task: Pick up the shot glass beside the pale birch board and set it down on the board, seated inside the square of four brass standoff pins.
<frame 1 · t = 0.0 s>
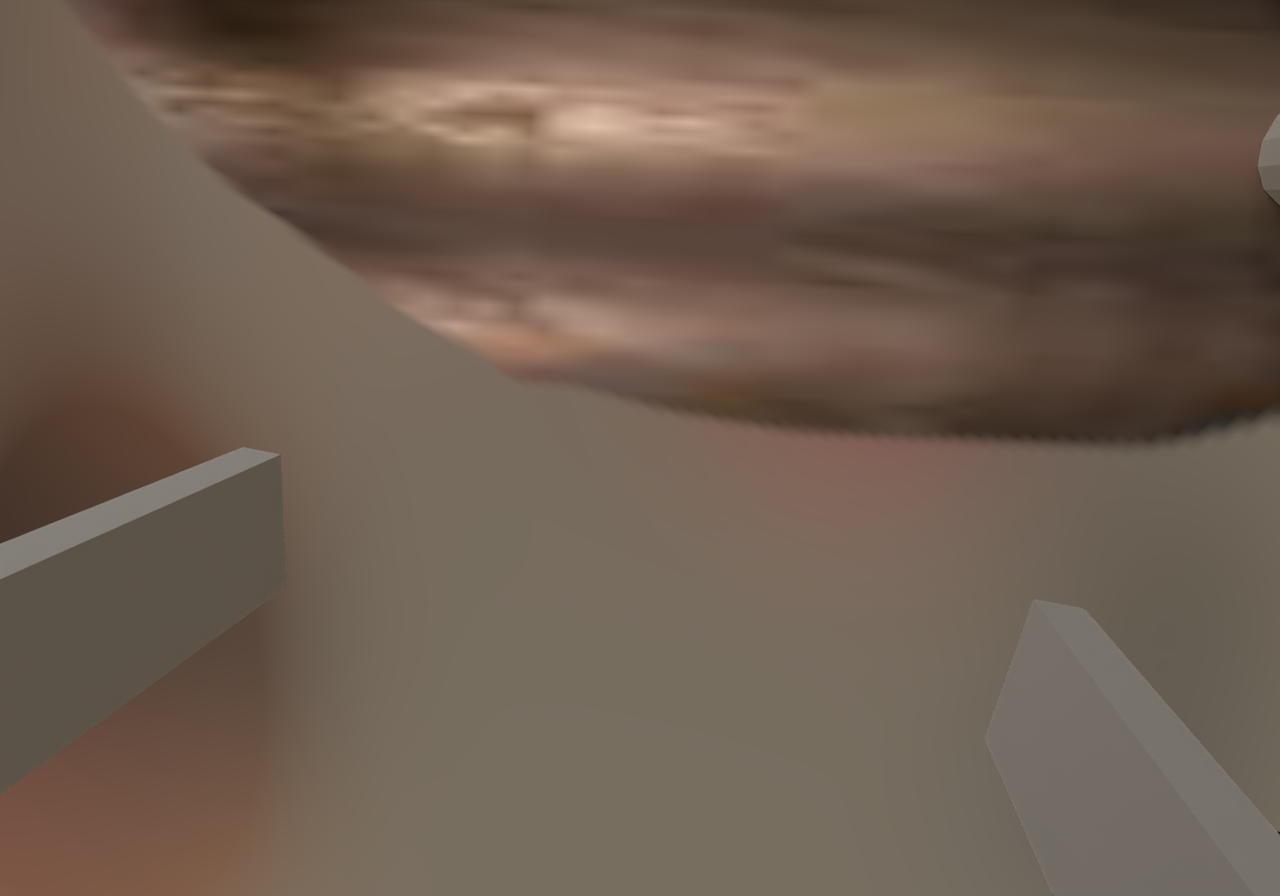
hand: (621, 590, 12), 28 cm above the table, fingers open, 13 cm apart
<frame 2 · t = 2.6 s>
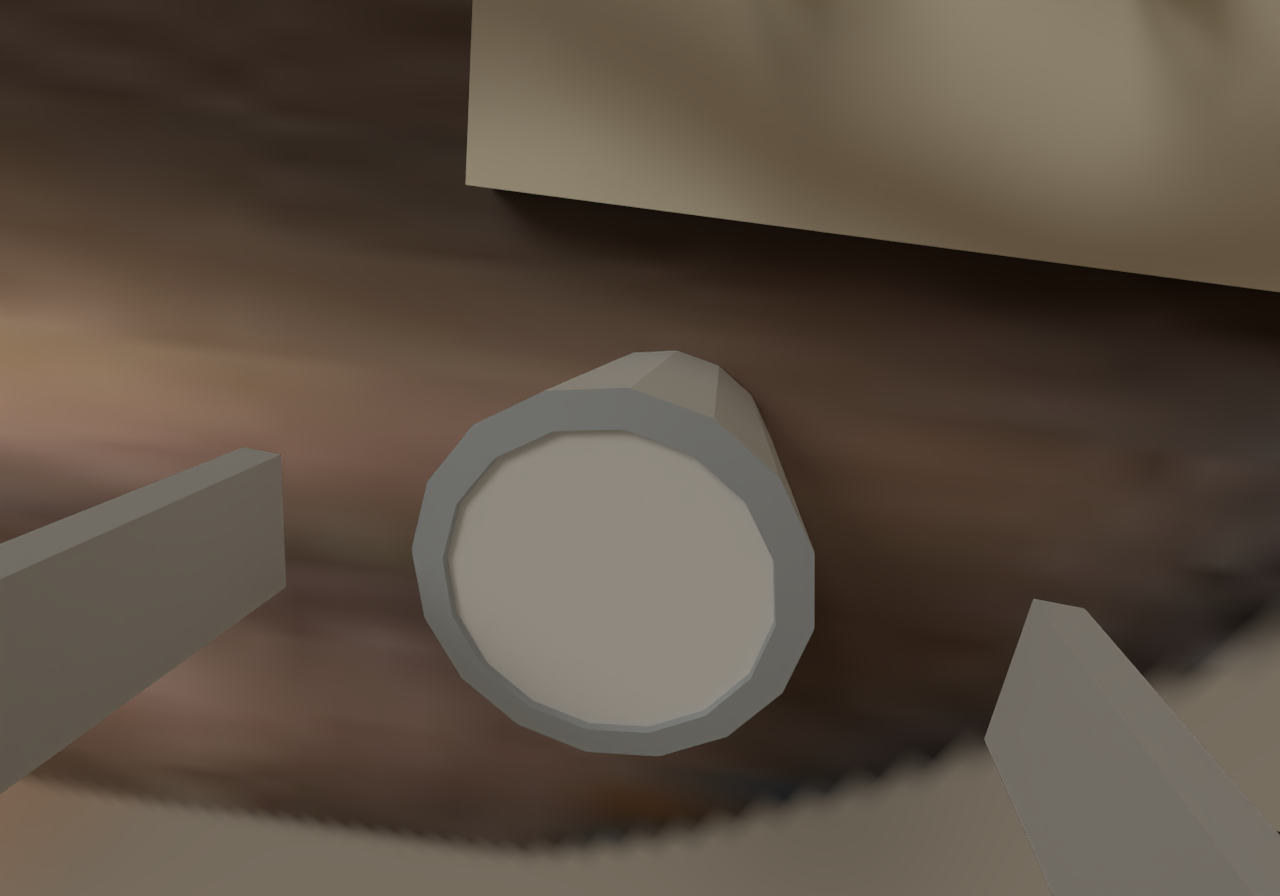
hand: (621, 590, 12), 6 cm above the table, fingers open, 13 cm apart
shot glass: (663, 454, 18), on the table
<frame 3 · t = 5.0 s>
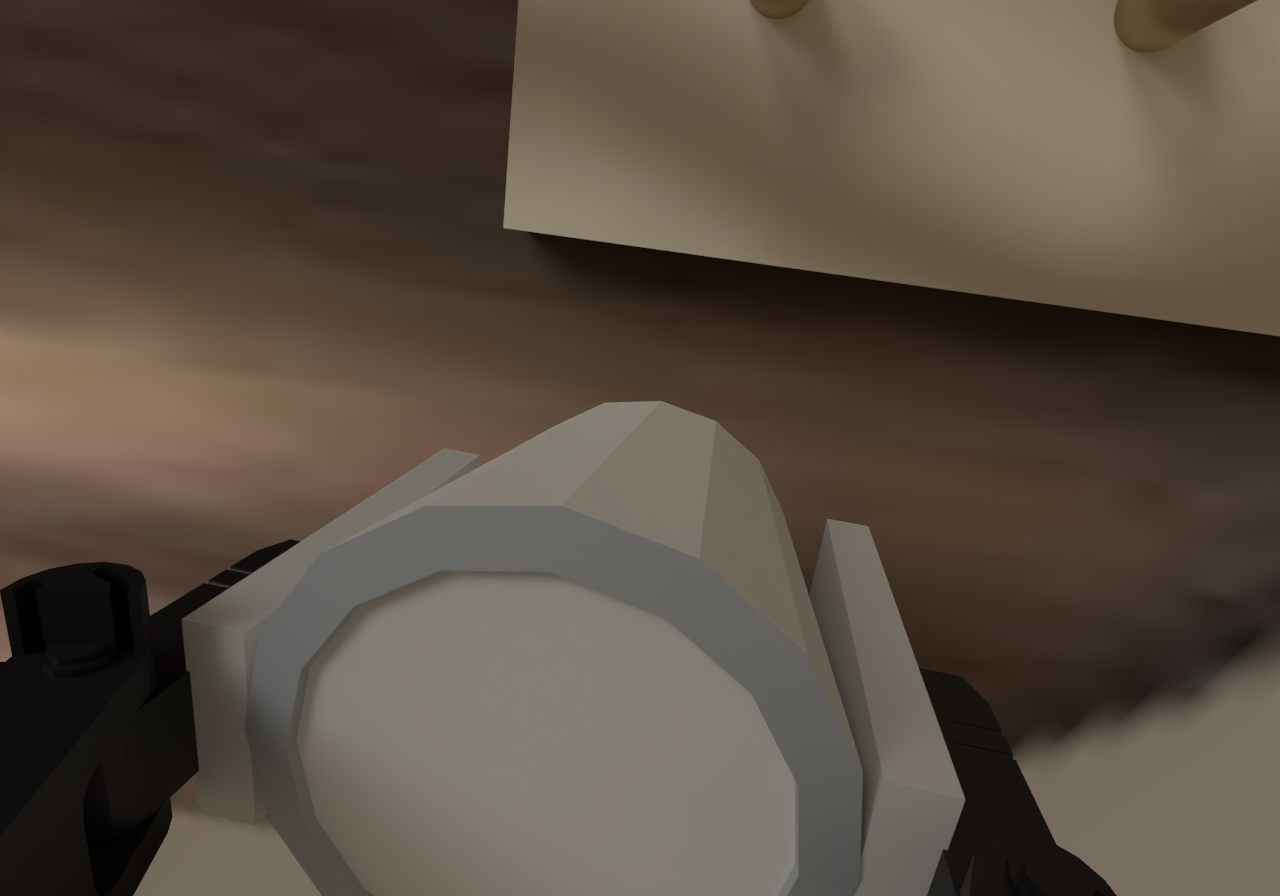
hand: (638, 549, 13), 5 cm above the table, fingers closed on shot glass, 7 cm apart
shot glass: (644, 531, 14), point 5 cm above the table, touching gripper
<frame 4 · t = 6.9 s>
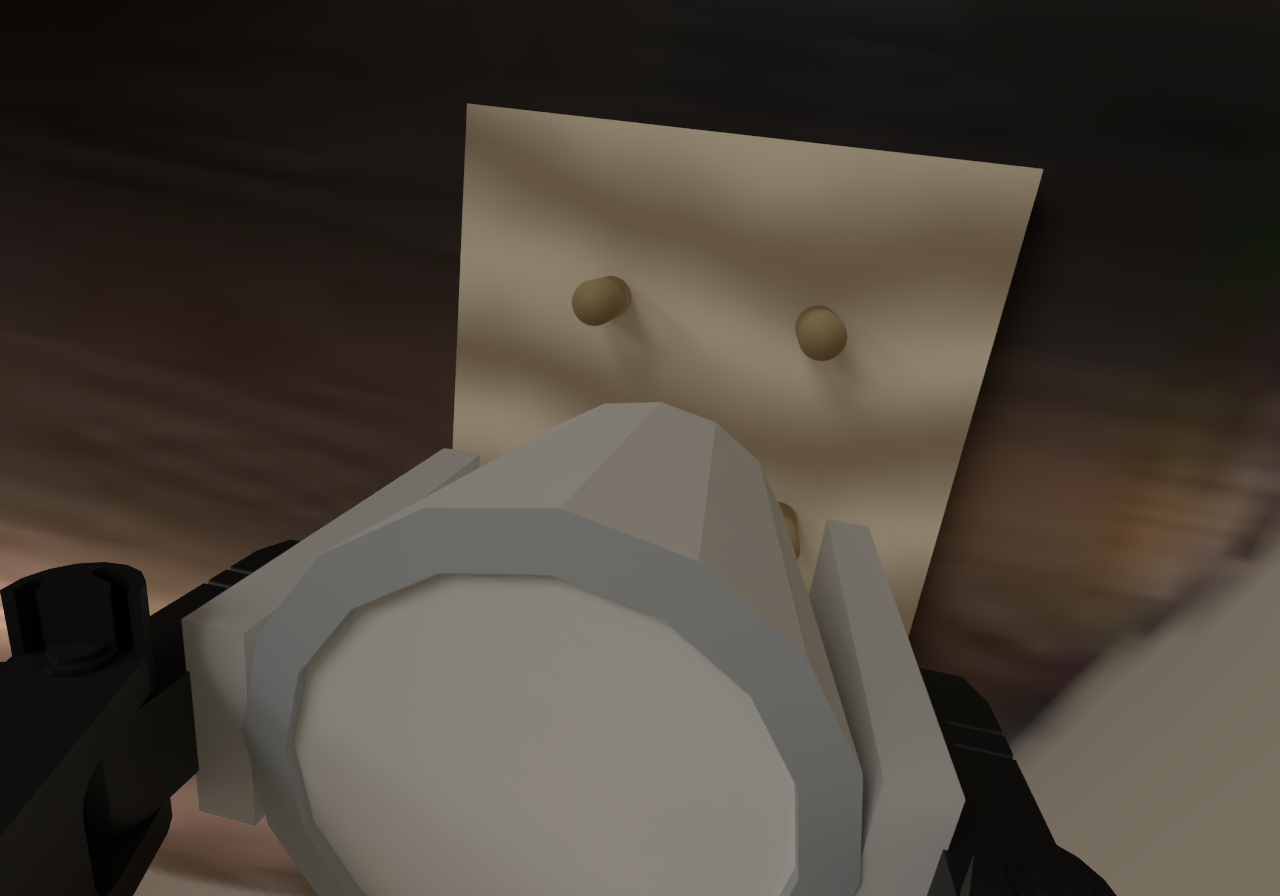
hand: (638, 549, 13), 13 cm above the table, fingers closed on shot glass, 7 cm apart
pin board: (700, 401, 25), on the table
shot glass: (644, 532, 14), point 12 cm above the table, touching gripper
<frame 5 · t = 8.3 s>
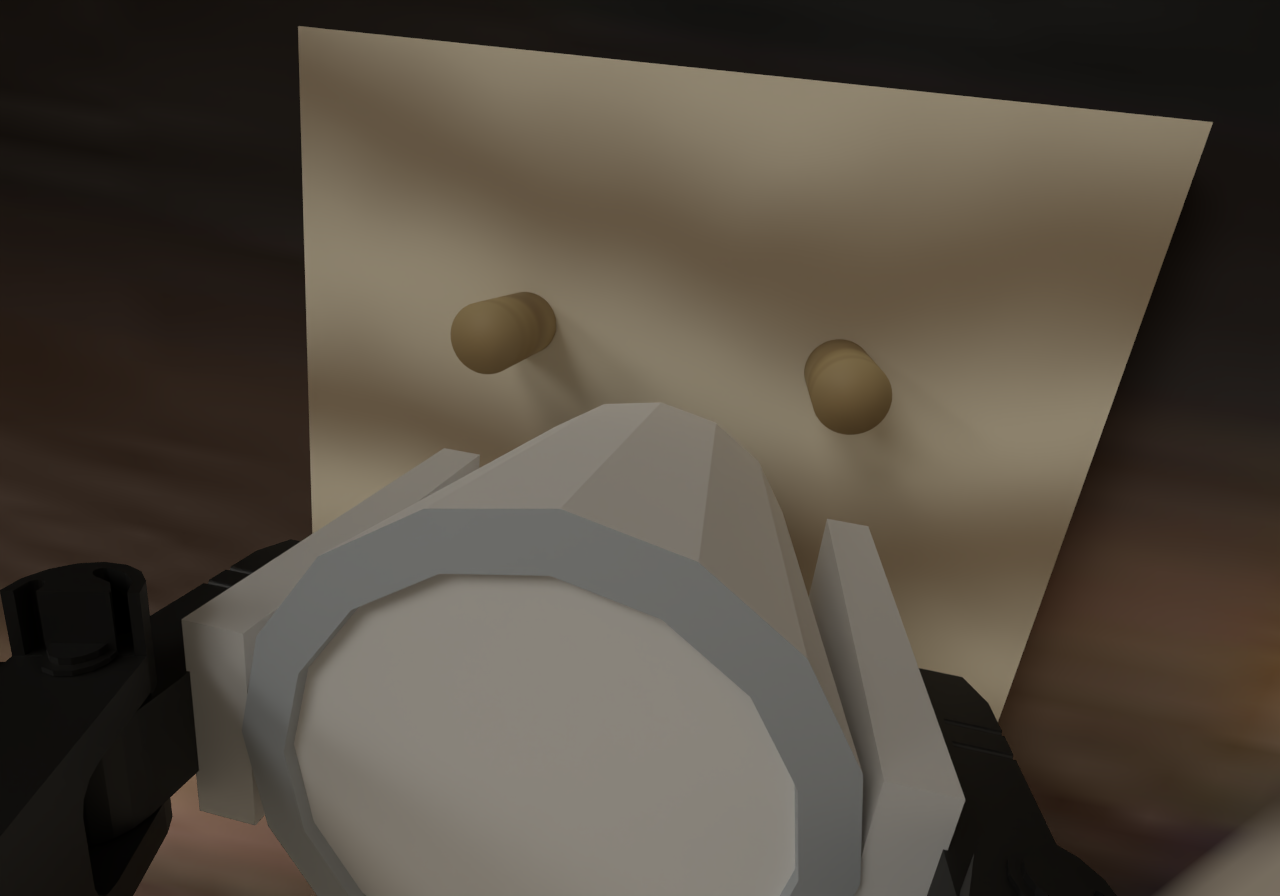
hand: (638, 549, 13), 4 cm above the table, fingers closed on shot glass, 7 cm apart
pin board: (665, 471, 18), on the table
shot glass: (644, 532, 14), point 4 cm above the table, touching gripper
when the fingers open (2 cm above the table, at t = 9.2 s): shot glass stays where it is, resting on pin board.
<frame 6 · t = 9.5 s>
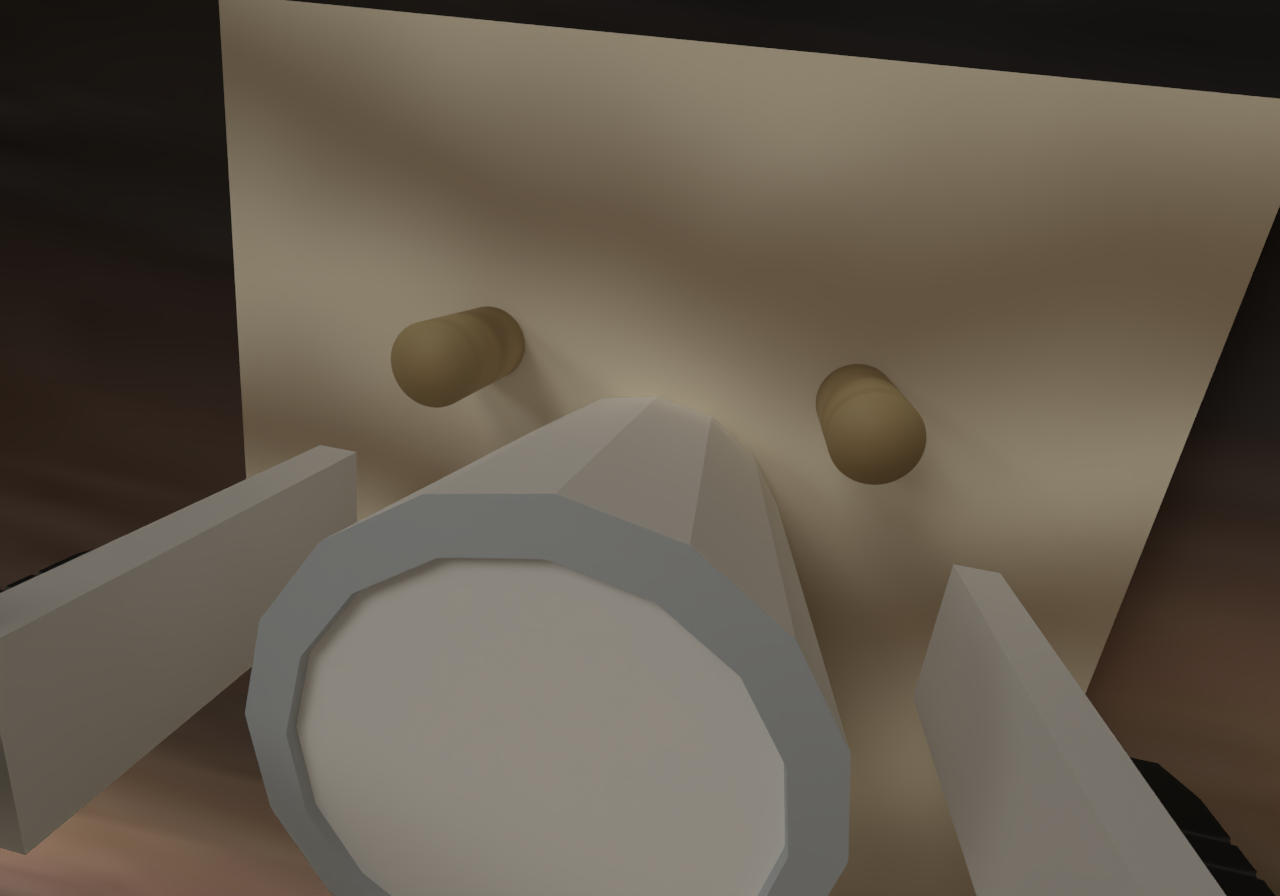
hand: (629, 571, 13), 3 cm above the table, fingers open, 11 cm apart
pin board: (654, 510, 15), on the table
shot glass: (640, 526, 14), point 1 cm above the table, touching pin board
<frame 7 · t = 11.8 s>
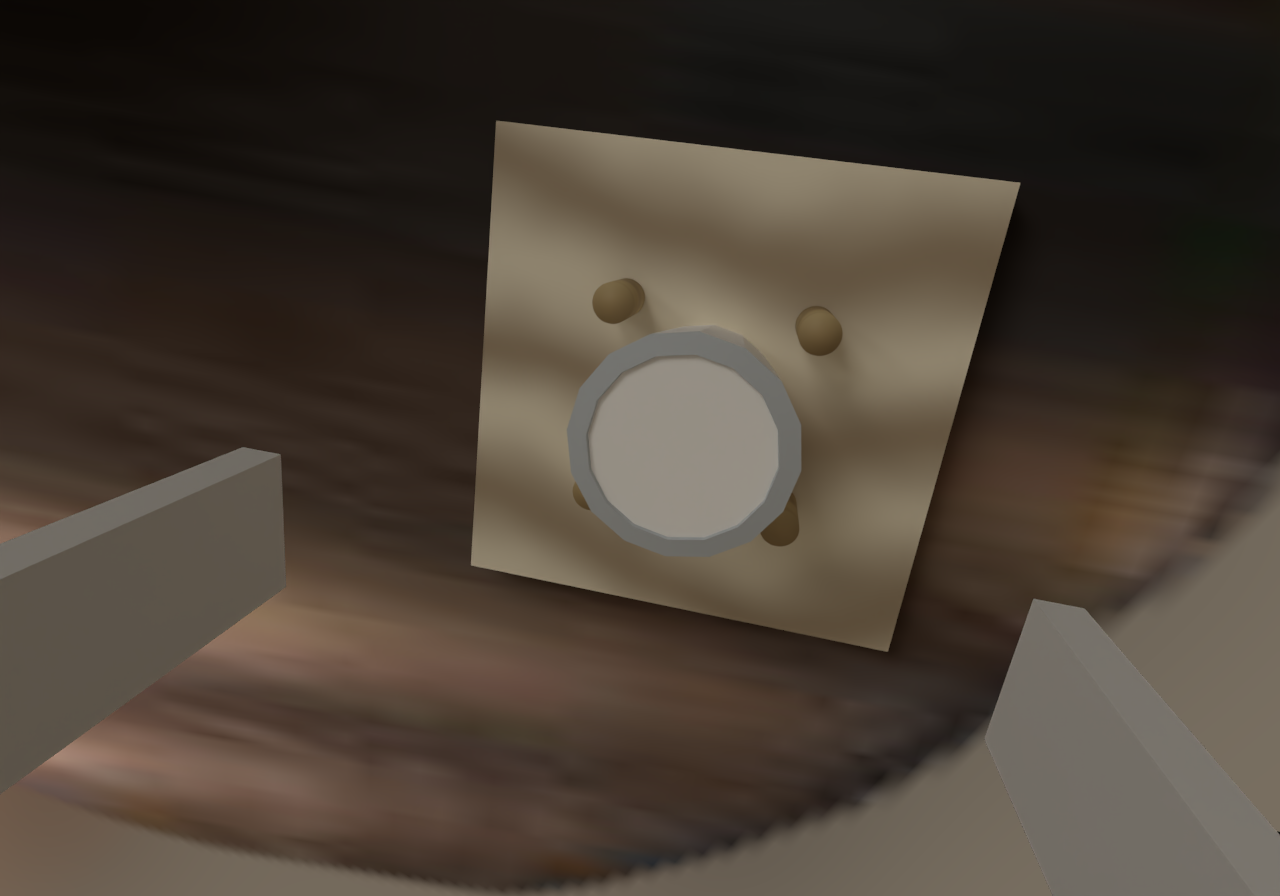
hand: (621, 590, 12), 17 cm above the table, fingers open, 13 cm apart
pin board: (707, 394, 28), on the table
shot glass: (702, 396, 26), point 1 cm above the table, touching pin board
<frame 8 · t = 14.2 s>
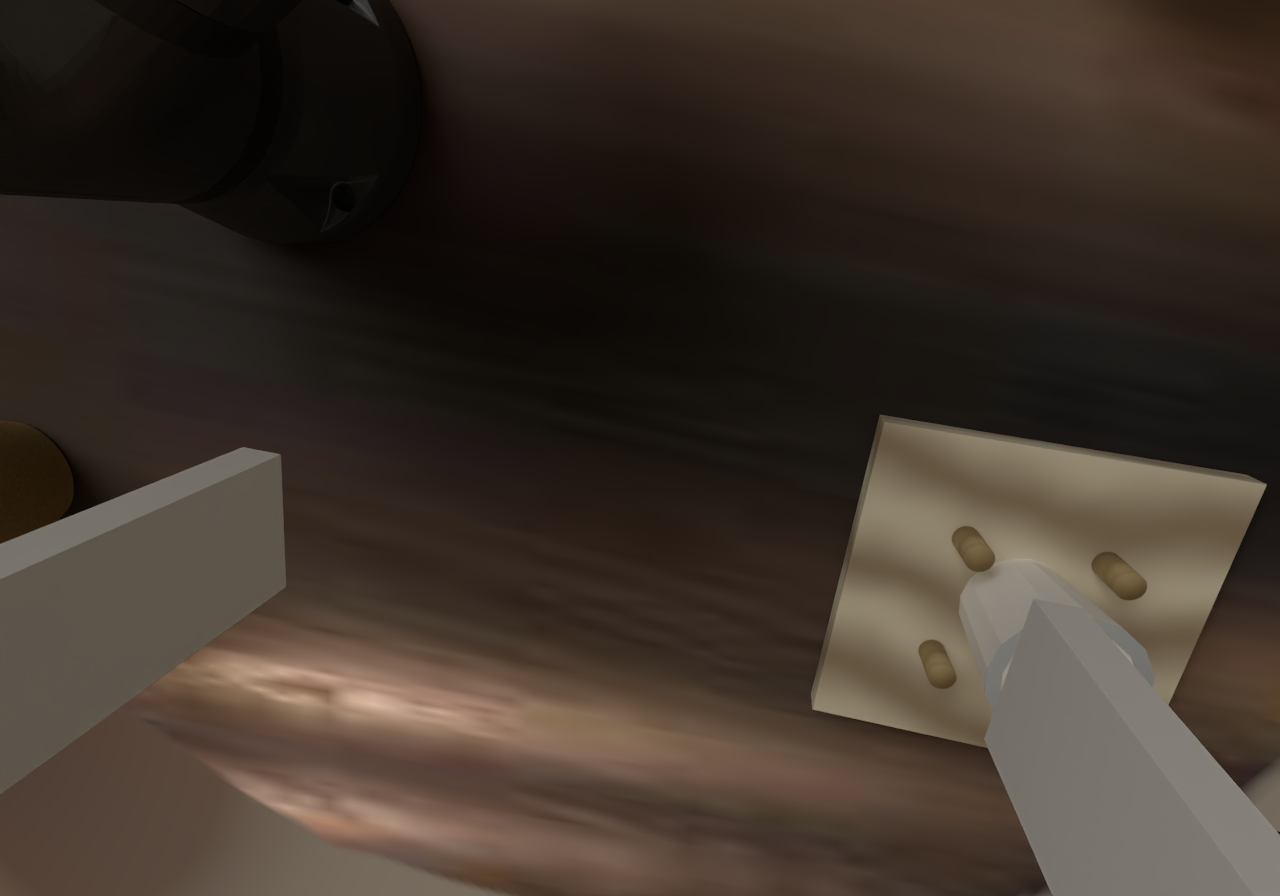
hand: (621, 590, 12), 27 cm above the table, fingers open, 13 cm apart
pin board: (1006, 595, 38), on the table
plant pot: (34, 473, 48), on the table
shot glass: (1013, 604, 37), point 1 cm above the table, touching pin board
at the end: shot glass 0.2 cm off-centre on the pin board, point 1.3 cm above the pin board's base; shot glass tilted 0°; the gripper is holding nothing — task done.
